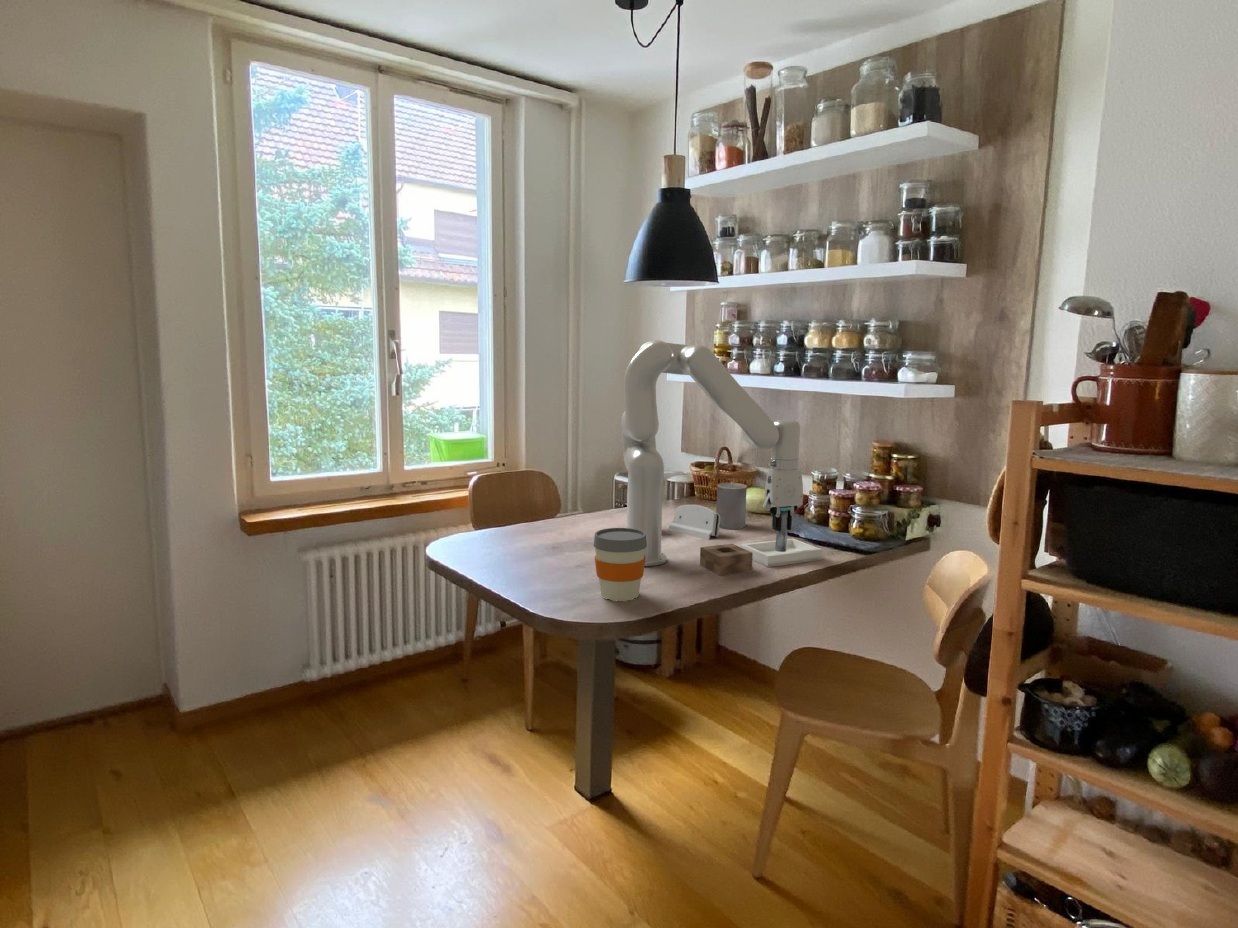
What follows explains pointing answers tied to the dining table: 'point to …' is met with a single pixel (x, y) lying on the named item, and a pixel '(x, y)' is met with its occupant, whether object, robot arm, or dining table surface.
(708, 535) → the hinge
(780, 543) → the steel pin
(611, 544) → the reusable coffee cup
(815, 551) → the tray
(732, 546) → the socket block
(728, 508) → the pillar candle
